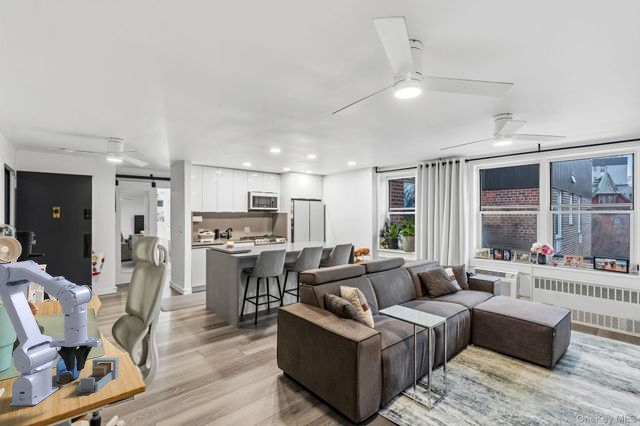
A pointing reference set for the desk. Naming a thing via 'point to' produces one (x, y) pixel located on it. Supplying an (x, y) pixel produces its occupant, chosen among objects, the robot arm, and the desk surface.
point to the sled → (89, 383)
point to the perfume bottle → (65, 372)
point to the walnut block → (101, 370)
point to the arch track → (104, 380)
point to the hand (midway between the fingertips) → (75, 369)
